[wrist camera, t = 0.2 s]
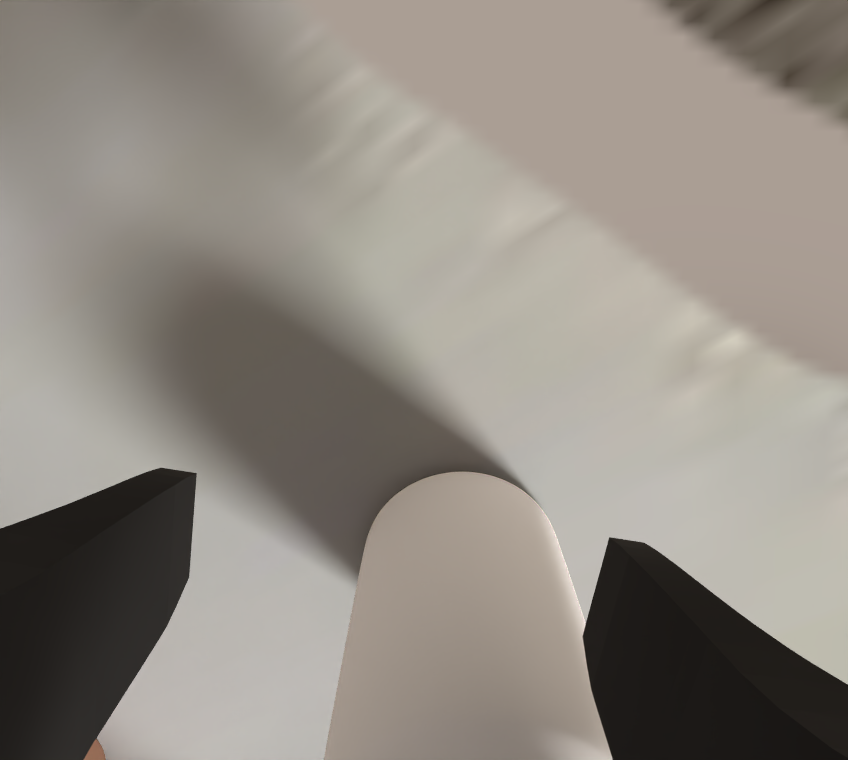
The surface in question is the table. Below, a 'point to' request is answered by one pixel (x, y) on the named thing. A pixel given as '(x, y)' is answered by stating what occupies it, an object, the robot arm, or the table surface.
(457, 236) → the table surface
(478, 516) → the can
